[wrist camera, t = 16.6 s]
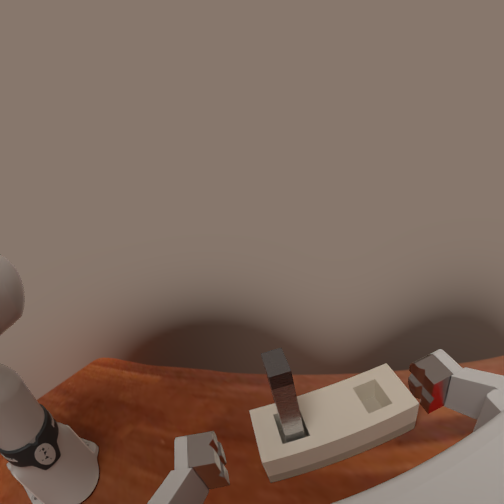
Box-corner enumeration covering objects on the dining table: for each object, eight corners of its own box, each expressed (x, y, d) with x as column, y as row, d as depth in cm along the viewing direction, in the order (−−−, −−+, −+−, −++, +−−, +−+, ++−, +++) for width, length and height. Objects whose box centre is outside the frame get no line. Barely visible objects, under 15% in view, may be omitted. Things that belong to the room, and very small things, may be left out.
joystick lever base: (270, 482, 36) (262, 463, 34) (257, 433, 45) (249, 410, 43) (414, 428, 38) (419, 403, 36) (385, 388, 47) (386, 363, 45)
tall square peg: (307, 448, 39) (291, 370, 33) (290, 454, 38) (268, 377, 33) (299, 427, 43) (281, 347, 37) (283, 432, 43) (260, 353, 37)
